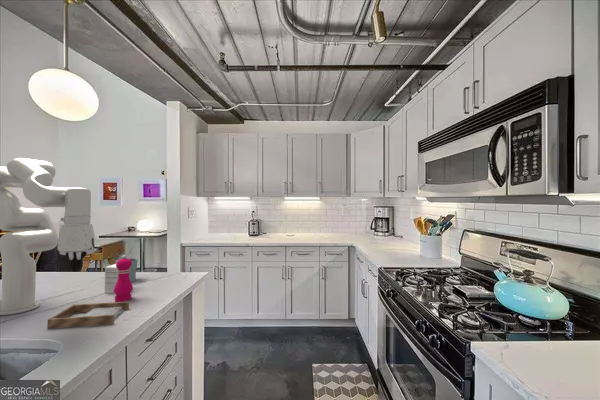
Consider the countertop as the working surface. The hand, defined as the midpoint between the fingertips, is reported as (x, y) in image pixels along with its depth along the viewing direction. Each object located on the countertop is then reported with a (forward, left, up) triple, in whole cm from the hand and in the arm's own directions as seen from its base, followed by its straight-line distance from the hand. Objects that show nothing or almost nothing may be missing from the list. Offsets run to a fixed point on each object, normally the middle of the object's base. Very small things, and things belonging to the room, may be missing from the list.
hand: (76, 269), depth 99 cm
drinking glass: (-2, +48, -19) cm, 52 cm away
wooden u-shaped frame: (+5, 0, -18) cm, 19 cm away
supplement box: (0, +32, -19) cm, 37 cm away
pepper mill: (+8, +19, -19) cm, 28 cm away
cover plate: (+9, 0, -19) cm, 21 cm away
